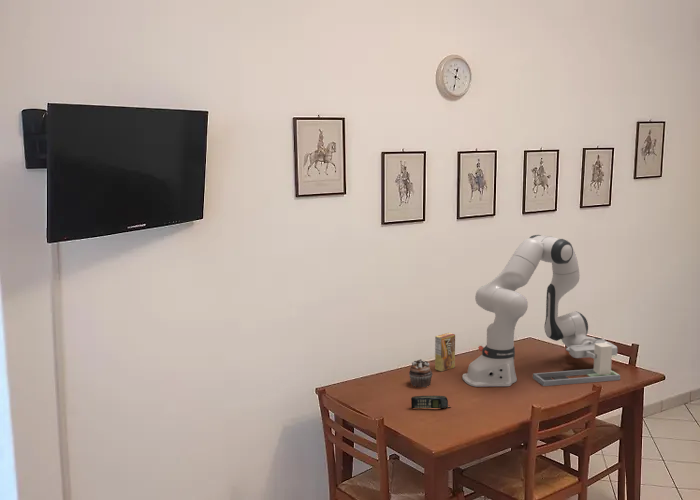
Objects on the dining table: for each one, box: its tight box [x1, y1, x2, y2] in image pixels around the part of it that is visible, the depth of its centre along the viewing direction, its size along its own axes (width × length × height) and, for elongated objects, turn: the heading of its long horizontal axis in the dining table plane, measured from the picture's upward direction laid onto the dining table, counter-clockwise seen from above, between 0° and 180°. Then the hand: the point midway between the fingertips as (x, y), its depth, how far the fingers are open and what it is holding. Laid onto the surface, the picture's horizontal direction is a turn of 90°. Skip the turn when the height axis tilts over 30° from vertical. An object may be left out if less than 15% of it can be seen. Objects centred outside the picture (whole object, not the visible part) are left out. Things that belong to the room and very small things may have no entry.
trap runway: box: [532, 368, 621, 387], centre depth 278 cm, size 34×10×2 cm, turn 100°
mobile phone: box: [410, 395, 449, 409], centre depth 249 cm, size 5×3×15 cm
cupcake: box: [408, 359, 433, 388], centre depth 274 cm, size 10×10×10 cm
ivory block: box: [593, 343, 613, 375], centre depth 279 cm, size 5×5×12 cm
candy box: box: [434, 332, 456, 372], centre depth 293 cm, size 9×4×15 cm, turn 129°
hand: (602, 356), depth 279 cm, fingers closed on ivory block, 5 cm apart
